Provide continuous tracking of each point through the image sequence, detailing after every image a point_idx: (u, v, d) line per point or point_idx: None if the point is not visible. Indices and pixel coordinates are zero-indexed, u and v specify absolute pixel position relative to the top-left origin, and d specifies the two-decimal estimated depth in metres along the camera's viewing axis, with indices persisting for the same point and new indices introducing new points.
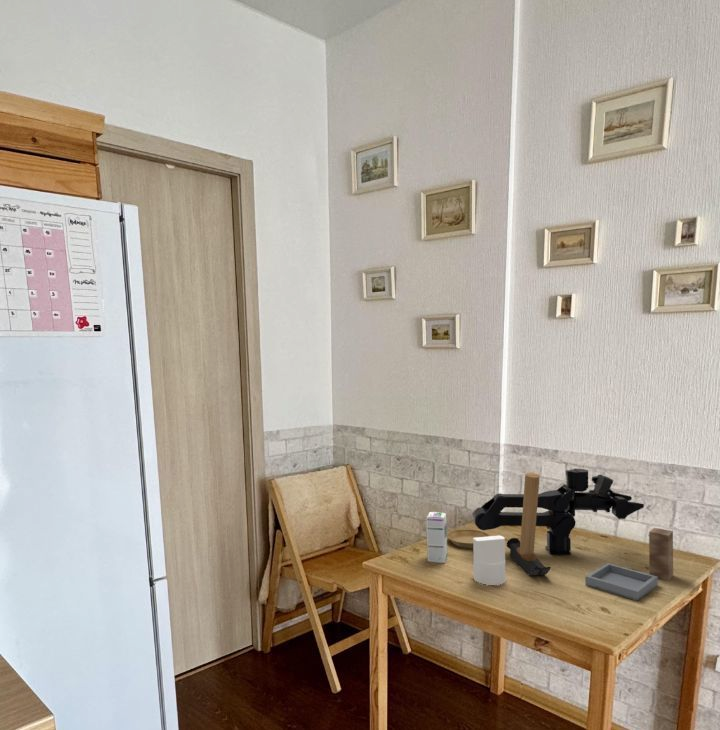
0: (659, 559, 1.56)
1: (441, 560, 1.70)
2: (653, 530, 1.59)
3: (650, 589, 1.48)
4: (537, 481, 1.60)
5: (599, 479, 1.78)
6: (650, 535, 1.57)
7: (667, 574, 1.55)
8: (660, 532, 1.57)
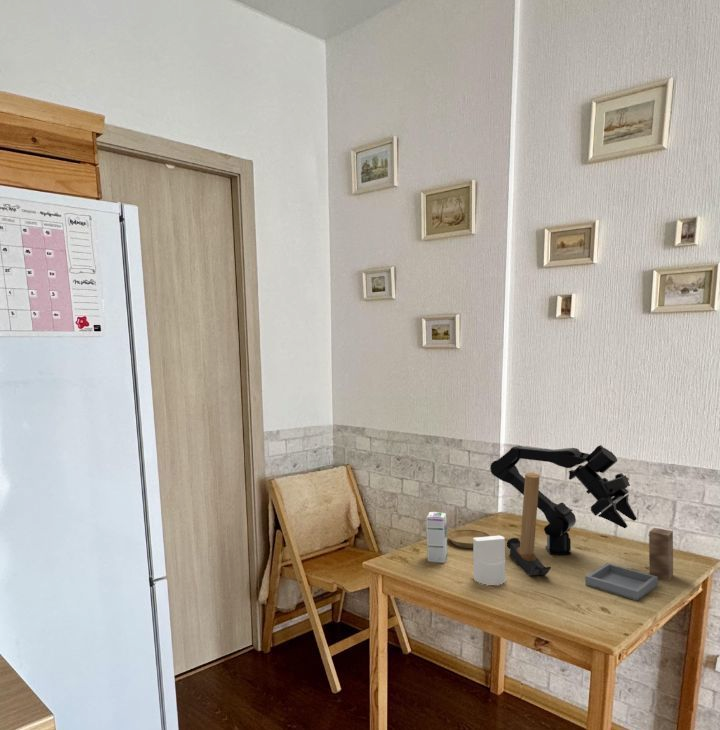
0: (659, 559, 1.56)
1: (441, 560, 1.70)
2: (653, 530, 1.59)
3: (650, 589, 1.48)
4: (537, 481, 1.60)
5: (619, 477, 1.66)
6: (650, 535, 1.57)
7: (667, 574, 1.55)
8: (660, 532, 1.57)
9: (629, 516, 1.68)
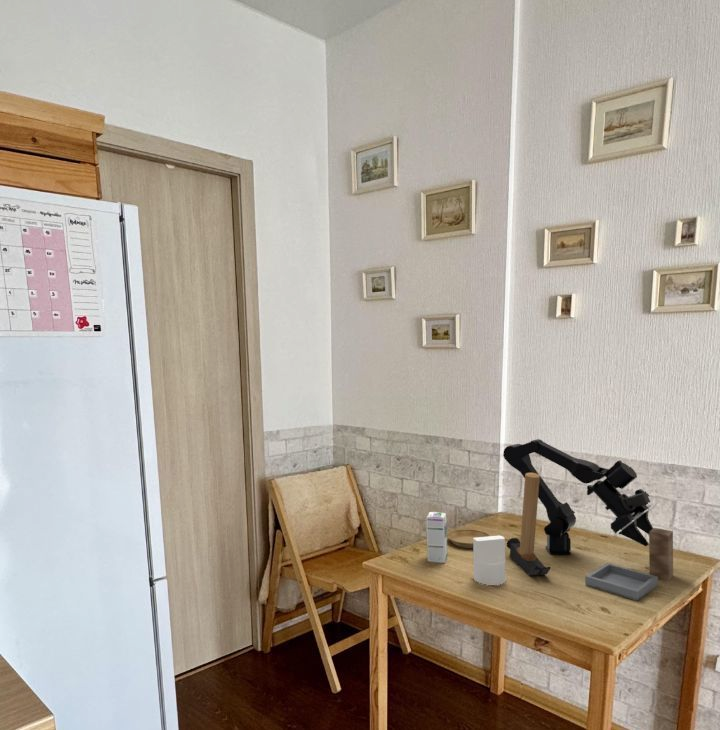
0: (659, 559, 1.56)
1: (441, 560, 1.70)
2: (653, 530, 1.59)
3: (650, 589, 1.48)
4: (537, 481, 1.60)
5: (639, 494, 1.62)
6: (650, 535, 1.57)
7: (667, 574, 1.55)
8: (660, 532, 1.57)
9: None
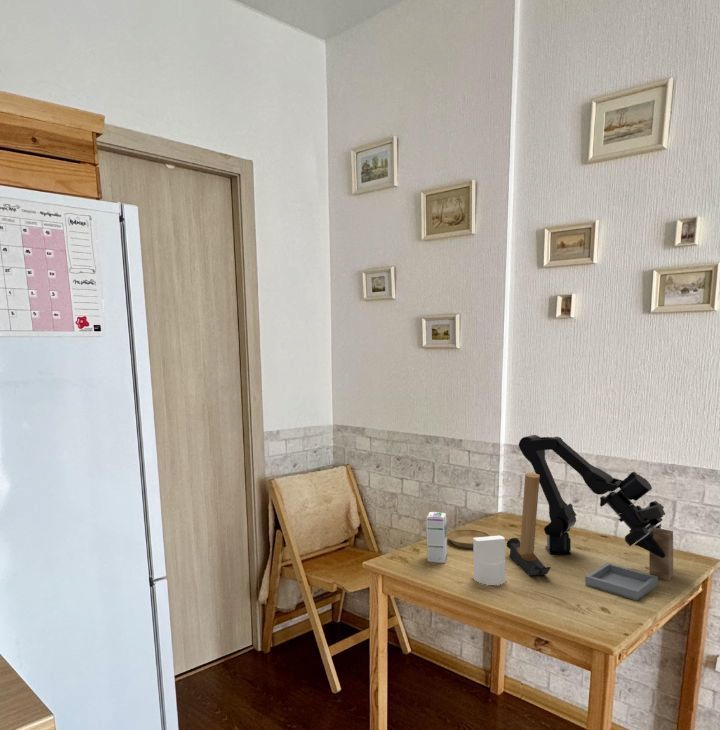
0: (659, 559, 1.56)
1: (441, 560, 1.70)
2: (653, 530, 1.59)
3: (650, 589, 1.48)
4: (537, 481, 1.60)
5: (654, 506, 1.59)
6: None
7: (667, 574, 1.55)
8: (660, 532, 1.57)
9: None
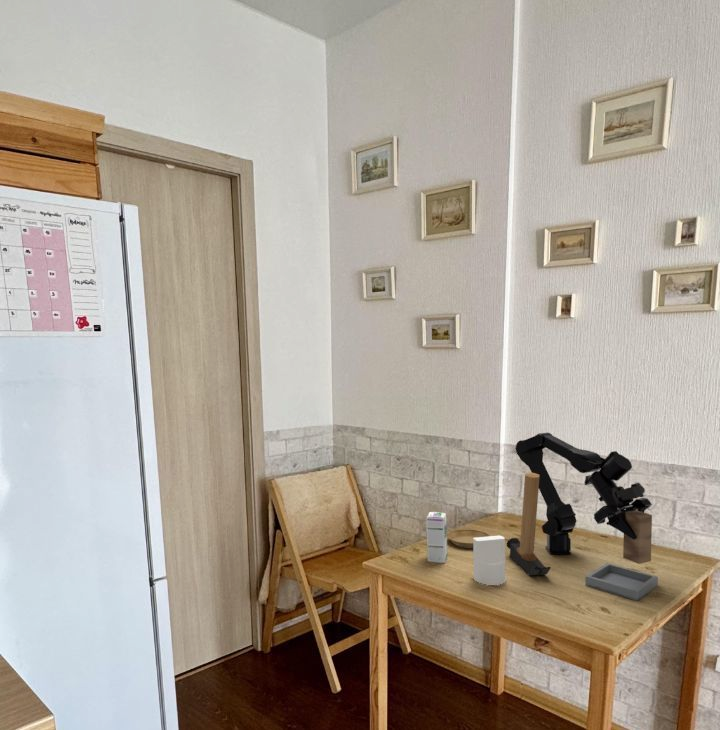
0: (632, 541, 1.52)
1: (441, 560, 1.70)
2: (631, 511, 1.54)
3: (650, 589, 1.48)
4: (537, 481, 1.60)
5: None
6: None
7: (638, 557, 1.50)
8: (635, 514, 1.52)
9: None
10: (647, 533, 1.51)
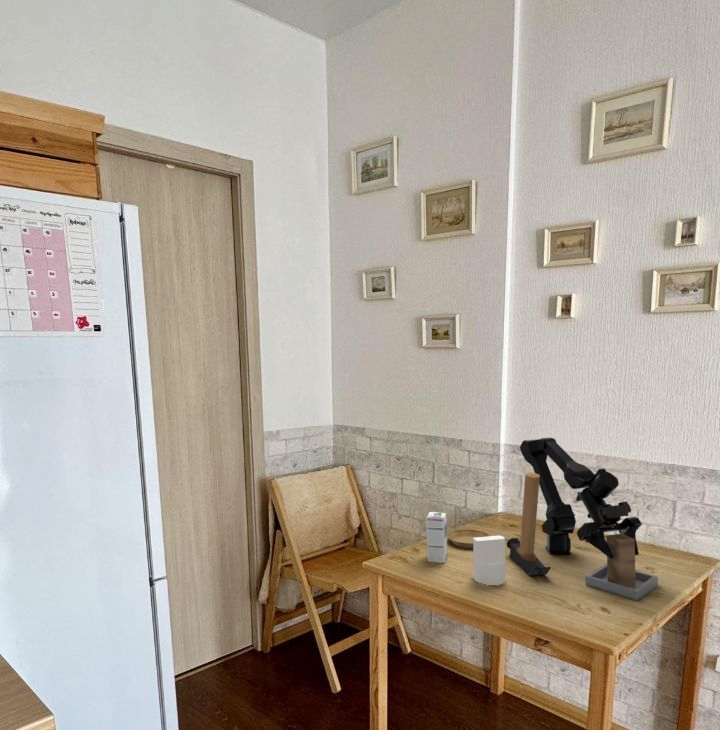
0: (614, 565, 1.51)
1: (441, 560, 1.70)
2: (614, 535, 1.53)
3: (650, 589, 1.48)
4: (537, 481, 1.60)
5: None
6: (607, 539, 1.53)
7: (619, 581, 1.49)
8: (617, 537, 1.51)
9: None
10: (629, 557, 1.50)
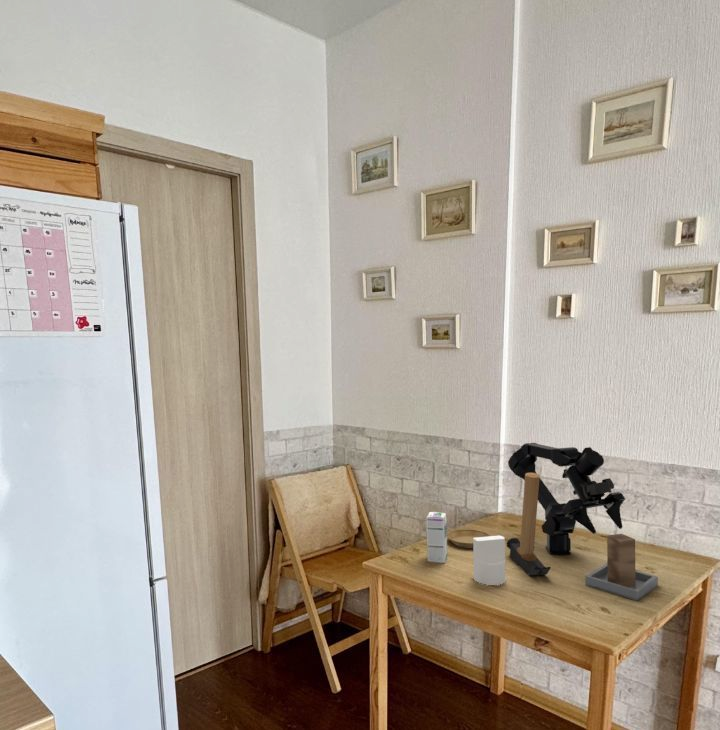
0: (614, 565, 1.51)
1: (441, 560, 1.70)
2: (614, 535, 1.54)
3: (650, 589, 1.48)
4: (537, 481, 1.60)
5: None
6: (608, 539, 1.53)
7: (619, 581, 1.49)
8: (617, 537, 1.51)
9: (616, 523, 1.61)
10: (630, 557, 1.50)
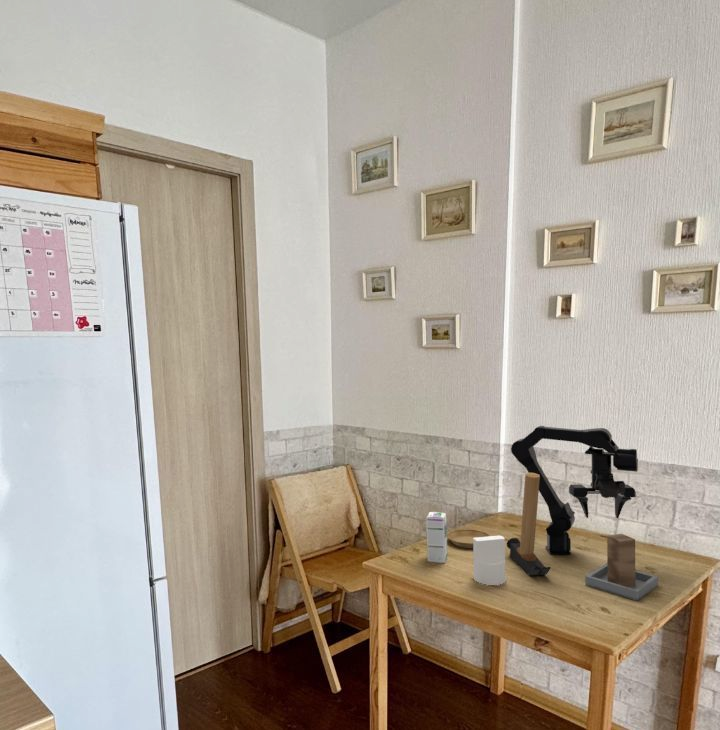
0: (614, 565, 1.51)
1: (441, 560, 1.70)
2: (614, 535, 1.54)
3: (650, 589, 1.48)
4: (537, 481, 1.60)
5: (612, 486, 1.64)
6: (608, 539, 1.53)
7: (619, 581, 1.49)
8: (617, 537, 1.51)
9: (615, 511, 1.72)
10: (630, 557, 1.50)
